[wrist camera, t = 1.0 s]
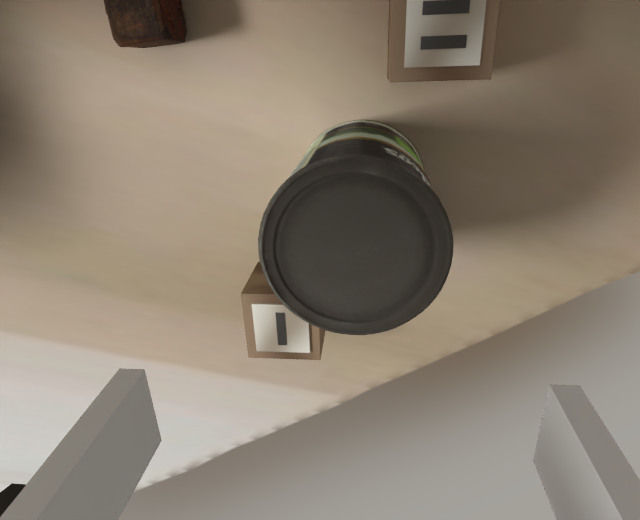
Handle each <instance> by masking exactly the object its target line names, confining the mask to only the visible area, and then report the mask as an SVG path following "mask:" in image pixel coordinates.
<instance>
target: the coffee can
mask: <svg viewBox="0 0 640 520" xmlns="http://www.w3.org/2000/svg"><path fill="white" fill-rule="evenodd" d="M258 247H259V258H260V263H261V267H262V270H263V273H264V275H265V278H266V280H267V282H268V284H269V286H270V288H271V289H272V291H273V292H274V294H275V295H276V297H277V298H278V299H279V300H280V301H281V302H282V304H283V305H284V306H285V307H286V308H287V309H289V310H290V311H291V312H292V313H293V314H295V315H296V316H298V317H299V318H301V319H302V320H304V321H305V322H307V323H309V324H311V325H313V326H316V327H318V328H321V329H324V330H327V331H331V332H334V333H340V334H349V335H367V334H375V333H380V332H384V331H388V330H391V329H393V328H396V327H398V326H400V325H402V324H404V323H406V322H408V321H410V320H411V319H413V318H414V317H416V316H417V315H418V314H420V313H421V312H422V311H424V310H425V309H426V308H427V307H428V306H429V305H430V304H431V303H432V302H433V300H434V299H435V298H436V297H437V295H438V294H439V292H440V291H441V289H442V287H443V285H444V283H445V281H446V279H447V276H448V273H449V270H450V267H451V262H452V257H453V236H452V230H451V226H450V222H449V220H448V216H447V213H446V211H445V209H444V207H443V205H442V204H441V202H440V200H439V198H438V197H437V195H436V194H435V193H434V191H433V189H432V187H431V184H430V182H429V180H428V178H427V176H426V174H425V171H424V169H423V166H422V162H421V160H420V157H419V155H418V153H417V151H416V150H415V148H414V146H413V145H412V144H411V143H410V142H409V140H408V139H407V138H406V137H405V136H403V135H402V134H401V133H399V132H398V131H397V130H395V129H393V128H391V127H389V126H387V125H385V124H382V123H379V122H375V121H368V120H356V121H350V122H345V123H342V124H339V125H336V126H334V127H332V128H330V129H329V130H327V131H325V132H324V133H322V134H321V135H320V136H319V137H318V138H317V139H316V140H315V141H314V142H313V143H312V145H311V146H310V147H309V149H308V150H307V152H306V154H305V155H304V157H303V159H302V160H301V162H300V163H299V164H298V166H297V167H296V169H295V170H294V172H293V173H292V174H291V176H290V177H289V178H288V179H287V180H286V181H285V182H284V183H283V184H282V185H281V186H280V188H279V189H278V190H277V192H276V193H275V194H274V196H273V197H272V199H271V200H270V202H269V204H268V206H267V208H266V210H265V212H264V215H263V218H262V221H261V225H260V231H259V238H258Z"/></svg>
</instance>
